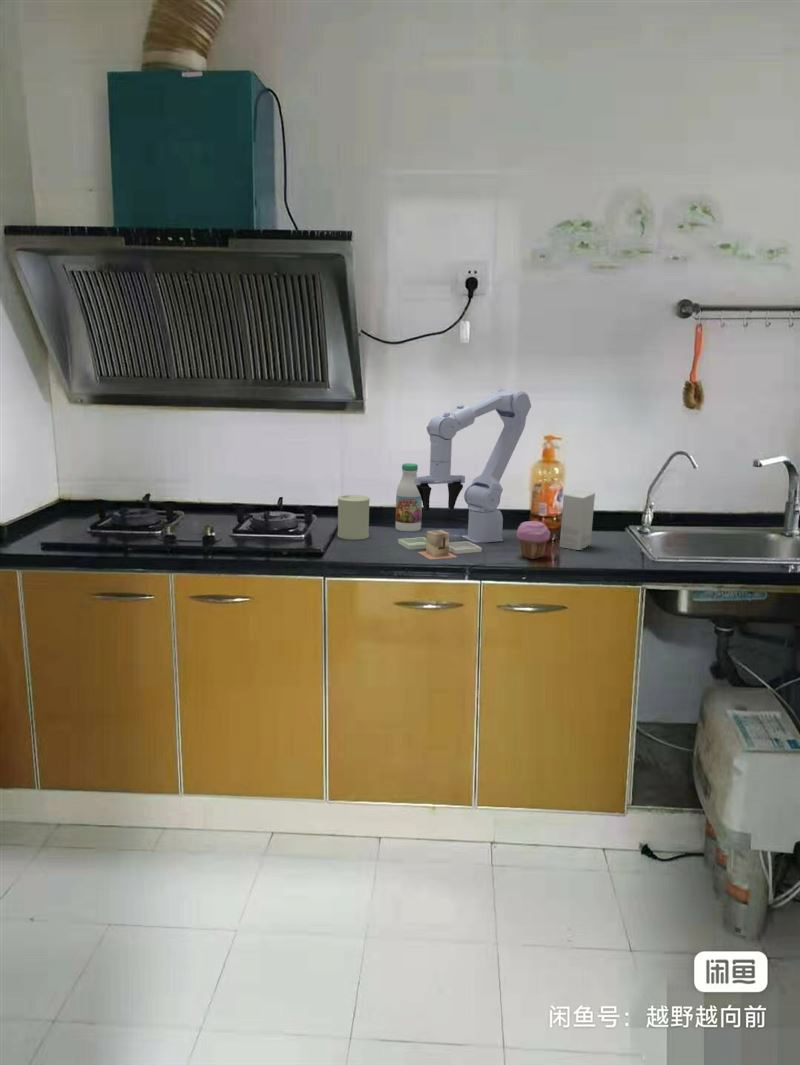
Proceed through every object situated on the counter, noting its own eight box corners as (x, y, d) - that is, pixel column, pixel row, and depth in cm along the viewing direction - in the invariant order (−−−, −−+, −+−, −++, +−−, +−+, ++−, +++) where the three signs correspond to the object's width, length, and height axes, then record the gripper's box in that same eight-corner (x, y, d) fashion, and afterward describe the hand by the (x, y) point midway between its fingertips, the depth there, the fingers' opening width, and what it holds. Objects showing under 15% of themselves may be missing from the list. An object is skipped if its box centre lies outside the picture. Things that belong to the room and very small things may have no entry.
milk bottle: (394, 527, 264) (395, 462, 260) (419, 527, 265) (421, 462, 261) (396, 532, 257) (398, 466, 252) (422, 532, 258) (424, 466, 253)
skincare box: (571, 542, 250) (574, 489, 246) (592, 546, 246) (596, 492, 243) (558, 548, 243) (562, 493, 240) (580, 551, 239) (584, 496, 236)
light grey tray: (468, 546, 243) (468, 541, 242) (481, 553, 235) (481, 547, 235) (442, 548, 239) (442, 543, 239) (455, 555, 232) (455, 549, 232)
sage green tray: (423, 542, 246) (424, 537, 246) (435, 548, 239) (435, 543, 238) (397, 544, 243) (398, 539, 242) (409, 550, 236) (409, 545, 235)
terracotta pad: (444, 551, 236) (444, 549, 236) (457, 558, 229) (457, 556, 229) (417, 553, 233) (417, 551, 233) (430, 561, 226) (430, 559, 226)
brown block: (440, 551, 234) (441, 529, 232) (448, 555, 230) (449, 533, 229) (426, 553, 232) (426, 531, 231) (434, 557, 228) (434, 534, 227)
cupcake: (532, 563, 226) (534, 525, 224) (508, 556, 233) (510, 519, 231) (555, 558, 232) (557, 521, 230) (531, 551, 238) (533, 516, 236)
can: (347, 532, 256) (348, 492, 254) (374, 536, 252) (375, 495, 249) (331, 538, 248) (331, 497, 246) (359, 542, 244) (359, 500, 241)
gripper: (457, 458, 243) (455, 505, 246) (410, 459, 238) (409, 508, 241) (469, 461, 237) (467, 510, 240) (421, 463, 231) (419, 512, 234)
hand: (438, 509), depth 240 cm, fingers open, 7 cm apart
